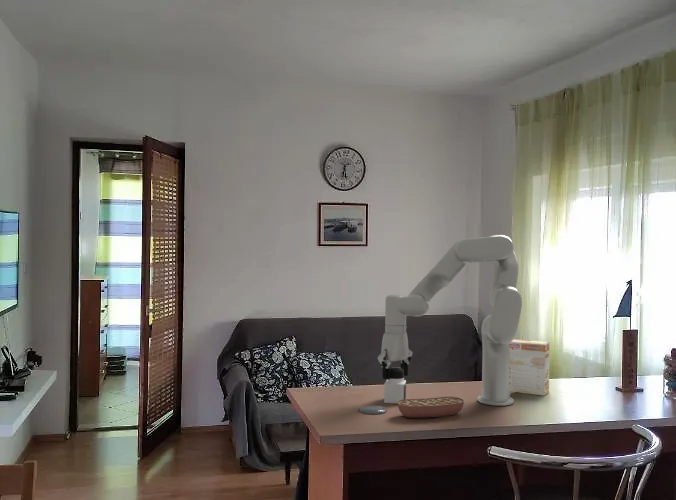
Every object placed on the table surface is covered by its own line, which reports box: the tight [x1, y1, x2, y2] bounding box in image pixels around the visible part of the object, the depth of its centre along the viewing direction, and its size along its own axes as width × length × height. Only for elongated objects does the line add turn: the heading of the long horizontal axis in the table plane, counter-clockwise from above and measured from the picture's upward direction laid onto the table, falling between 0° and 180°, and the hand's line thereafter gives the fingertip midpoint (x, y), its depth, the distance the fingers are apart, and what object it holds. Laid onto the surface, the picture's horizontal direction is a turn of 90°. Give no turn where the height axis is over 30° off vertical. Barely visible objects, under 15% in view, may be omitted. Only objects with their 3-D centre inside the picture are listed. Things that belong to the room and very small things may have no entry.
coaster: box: [359, 405, 387, 415], centre depth 222 cm, size 9×9×1 cm
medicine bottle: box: [383, 366, 407, 405], centre depth 235 cm, size 7×7×12 cm
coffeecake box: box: [509, 338, 550, 397], centre depth 250 cm, size 15×7×20 cm, turn 58°
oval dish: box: [397, 396, 465, 419], centre depth 216 cm, size 23×10×5 cm, turn 105°
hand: (395, 377), depth 235 cm, fingers open, 8 cm apart
